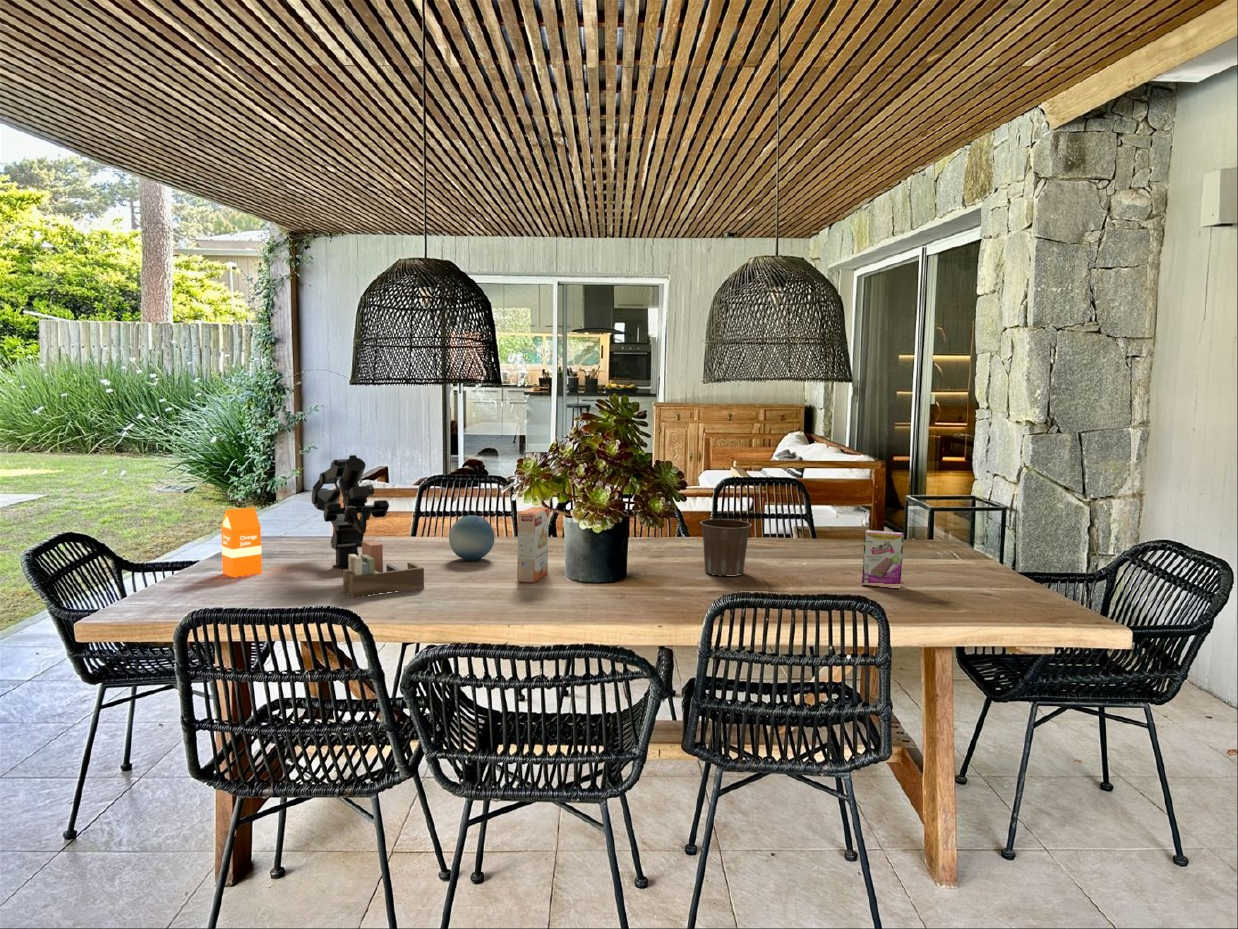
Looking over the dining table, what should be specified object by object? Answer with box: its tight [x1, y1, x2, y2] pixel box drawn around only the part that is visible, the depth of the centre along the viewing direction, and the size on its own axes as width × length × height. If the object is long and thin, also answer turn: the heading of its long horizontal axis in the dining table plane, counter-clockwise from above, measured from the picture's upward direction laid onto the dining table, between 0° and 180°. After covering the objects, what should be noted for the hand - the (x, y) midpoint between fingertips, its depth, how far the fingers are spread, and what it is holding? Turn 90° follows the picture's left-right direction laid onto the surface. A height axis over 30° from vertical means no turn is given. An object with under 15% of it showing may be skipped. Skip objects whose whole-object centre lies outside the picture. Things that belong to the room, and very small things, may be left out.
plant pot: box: [699, 518, 753, 576], centre depth 258 cm, size 16×16×16 cm
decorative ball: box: [448, 514, 496, 561], centre depth 272 cm, size 15×15×15 cm
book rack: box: [342, 554, 425, 599], centre depth 232 cm, size 10×20×10 cm, turn 125°
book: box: [361, 539, 384, 573], centre depth 240 cm, size 8×4×12 cm, turn 35°
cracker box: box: [516, 506, 550, 584], centre depth 248 cm, size 14×6×21 cm, turn 168°
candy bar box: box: [861, 529, 905, 584], centre depth 244 cm, size 11×5×16 cm, turn 71°
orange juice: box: [220, 506, 263, 578], centre depth 249 cm, size 8×9×20 cm
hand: (363, 532), depth 246 cm, fingers closed
